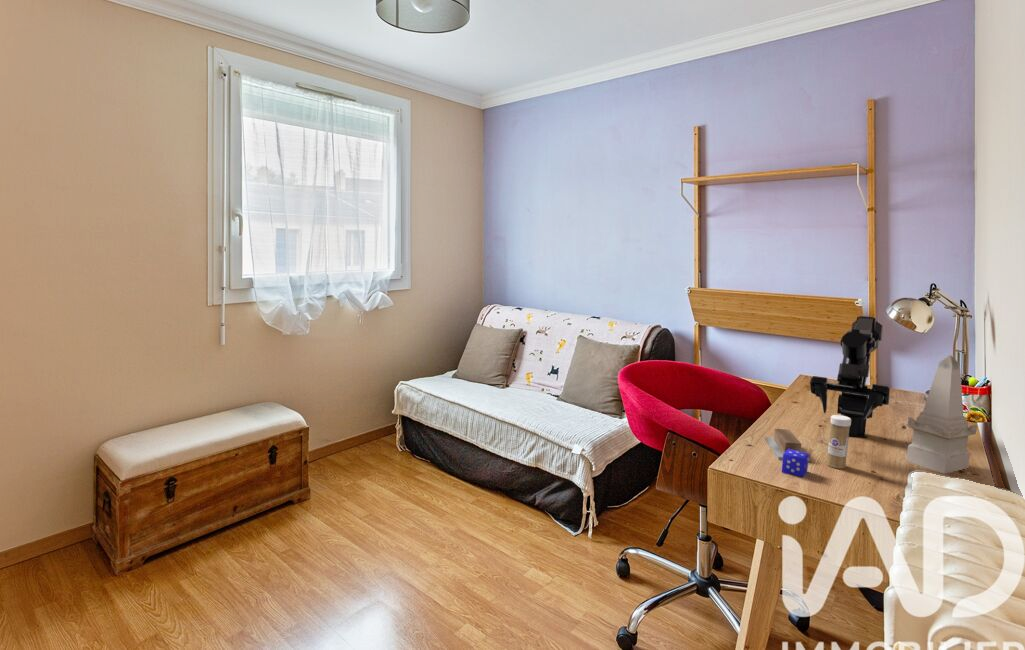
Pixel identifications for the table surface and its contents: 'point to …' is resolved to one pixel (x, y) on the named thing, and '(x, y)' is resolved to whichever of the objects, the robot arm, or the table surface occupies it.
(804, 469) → the die
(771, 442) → the ridge
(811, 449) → the table surface
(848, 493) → the table surface
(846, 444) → the spice jar
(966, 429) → the miniature monument
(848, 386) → the robot arm
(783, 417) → the table surface
